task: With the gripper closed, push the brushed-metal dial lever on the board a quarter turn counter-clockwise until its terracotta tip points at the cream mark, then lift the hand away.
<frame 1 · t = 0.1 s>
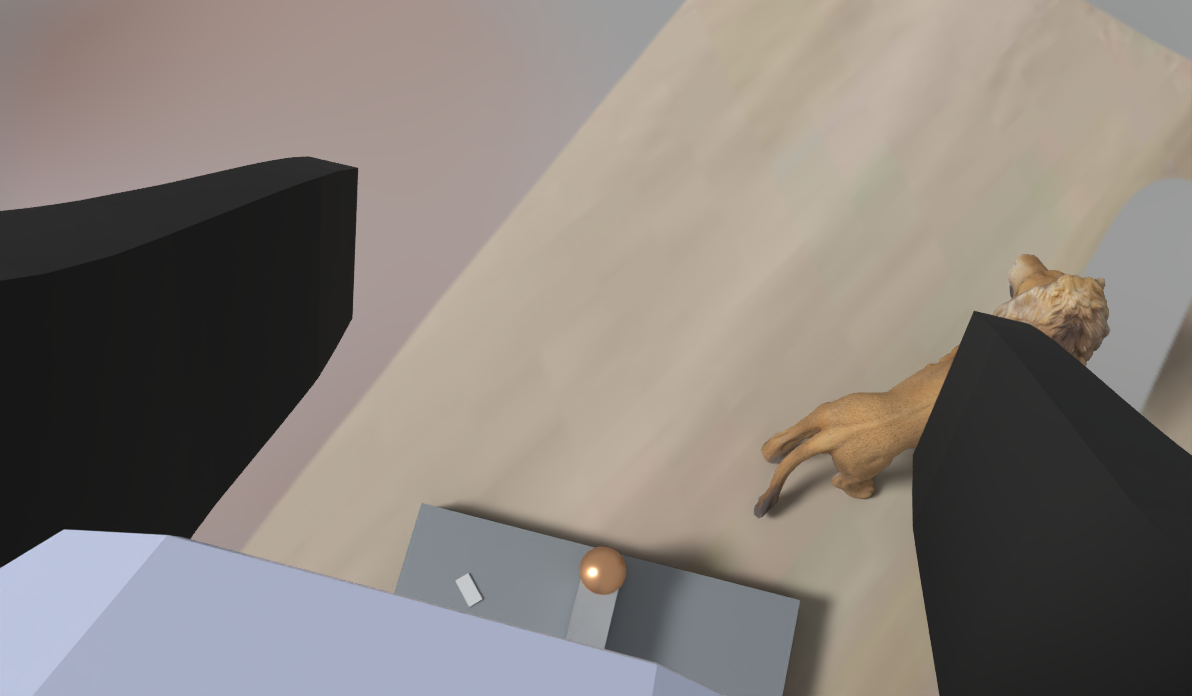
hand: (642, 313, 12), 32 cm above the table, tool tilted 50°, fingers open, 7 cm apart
dial: (572, 693, 38), point 3 cm above the table, hinge at 0.0°
lion figurine: (893, 418, 44), on the table
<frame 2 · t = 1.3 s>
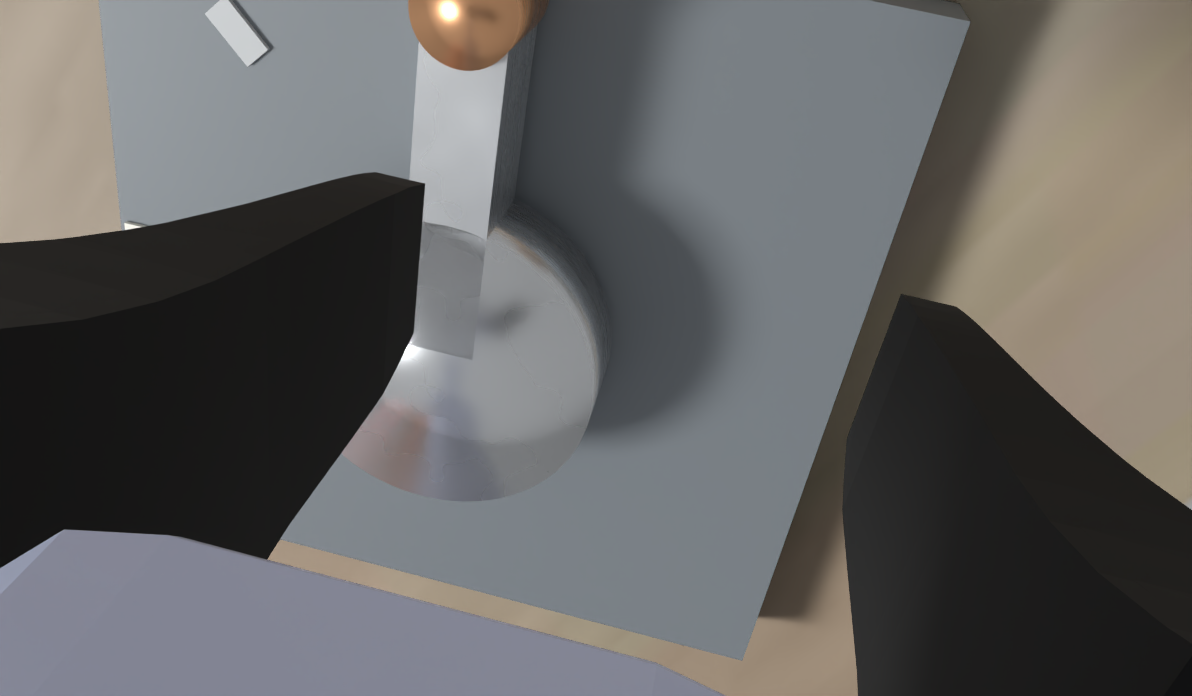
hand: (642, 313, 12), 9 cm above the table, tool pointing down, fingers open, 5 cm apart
dial: (457, 247, 19), point 3 cm above the table, hinge at 0.0°
dial board: (487, 286, 23), on the table
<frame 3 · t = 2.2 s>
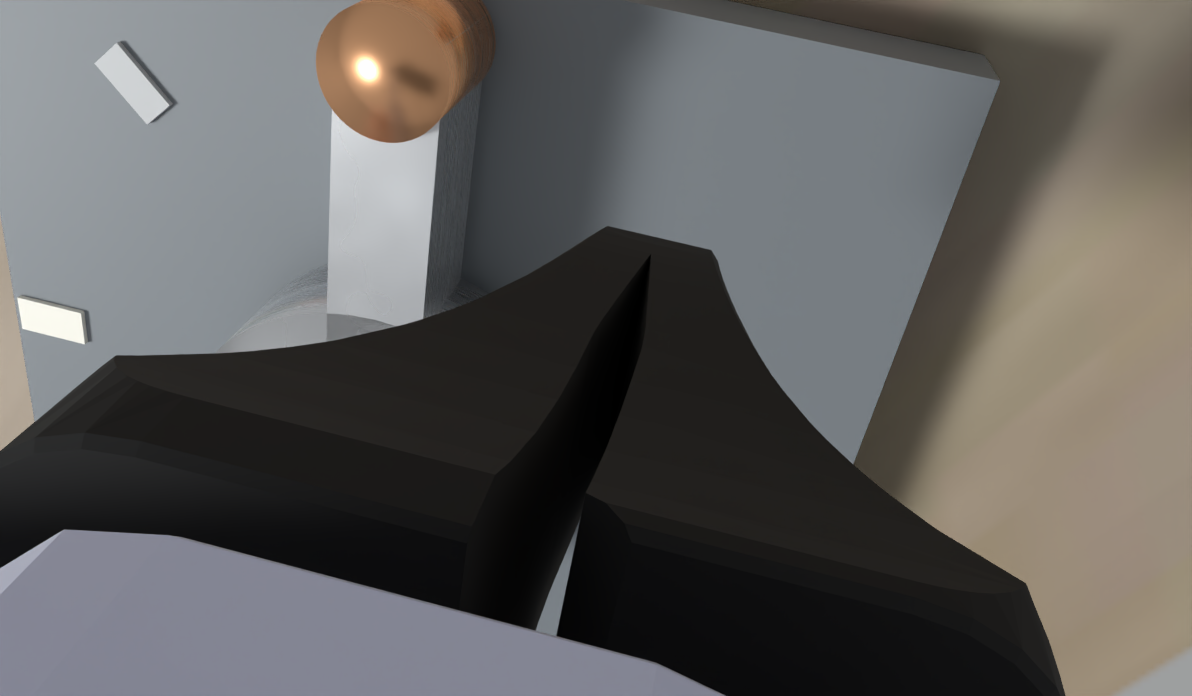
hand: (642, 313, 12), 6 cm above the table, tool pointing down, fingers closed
dial: (392, 338, 16), point 3 cm above the table, hinge at 0.0°
dial board: (437, 367, 20), on the table
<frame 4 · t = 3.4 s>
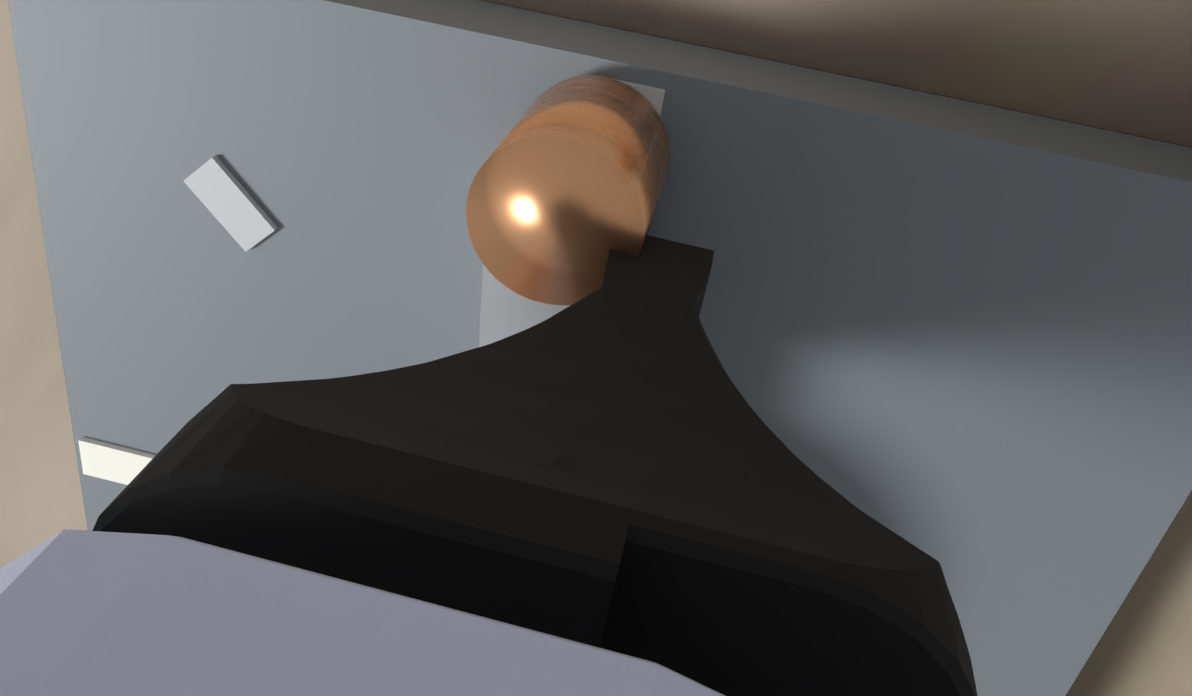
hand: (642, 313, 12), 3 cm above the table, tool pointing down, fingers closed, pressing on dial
dial: (542, 512, 13), point 3 cm above the table, hinge at 3.1°, touching gripper
dial board: (570, 509, 17), on the table
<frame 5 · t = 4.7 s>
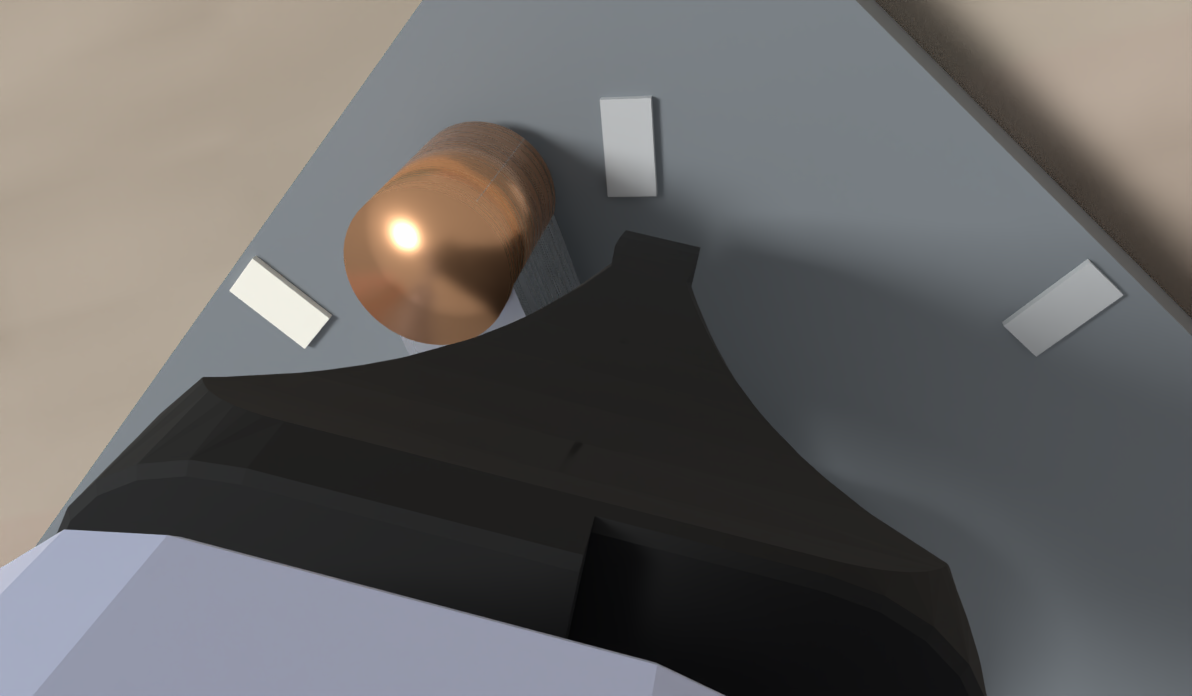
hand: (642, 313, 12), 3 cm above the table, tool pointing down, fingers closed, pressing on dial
dial: (594, 540, 13), point 3 cm above the table, hinge at 60.0°, touching gripper
dial board: (672, 532, 17), on the table
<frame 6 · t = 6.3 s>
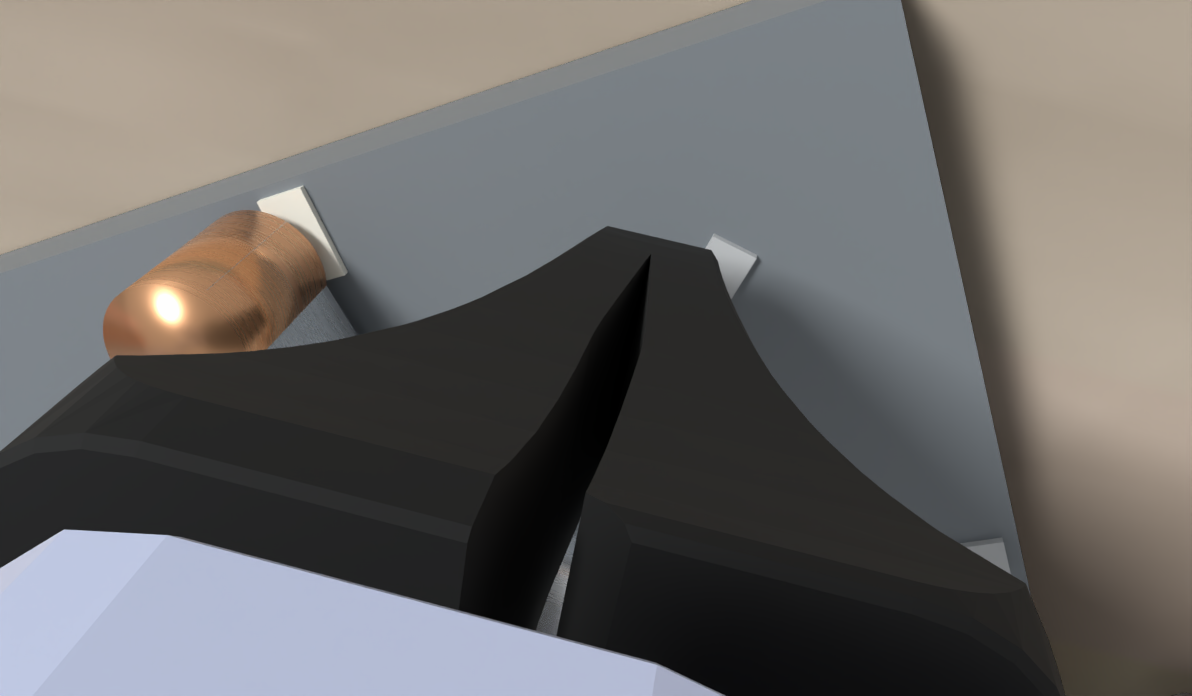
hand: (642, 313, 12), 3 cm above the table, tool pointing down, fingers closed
dial: (407, 578, 14), point 3 cm above the table, hinge at 95.3°
dial board: (529, 561, 18), on the table
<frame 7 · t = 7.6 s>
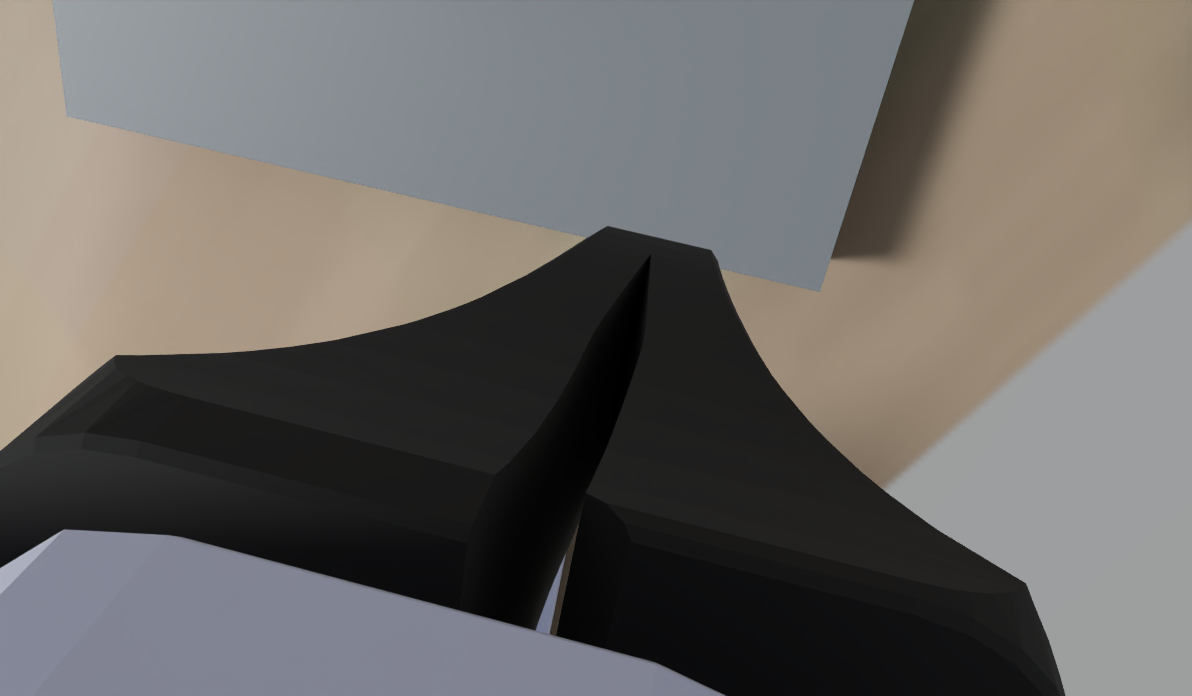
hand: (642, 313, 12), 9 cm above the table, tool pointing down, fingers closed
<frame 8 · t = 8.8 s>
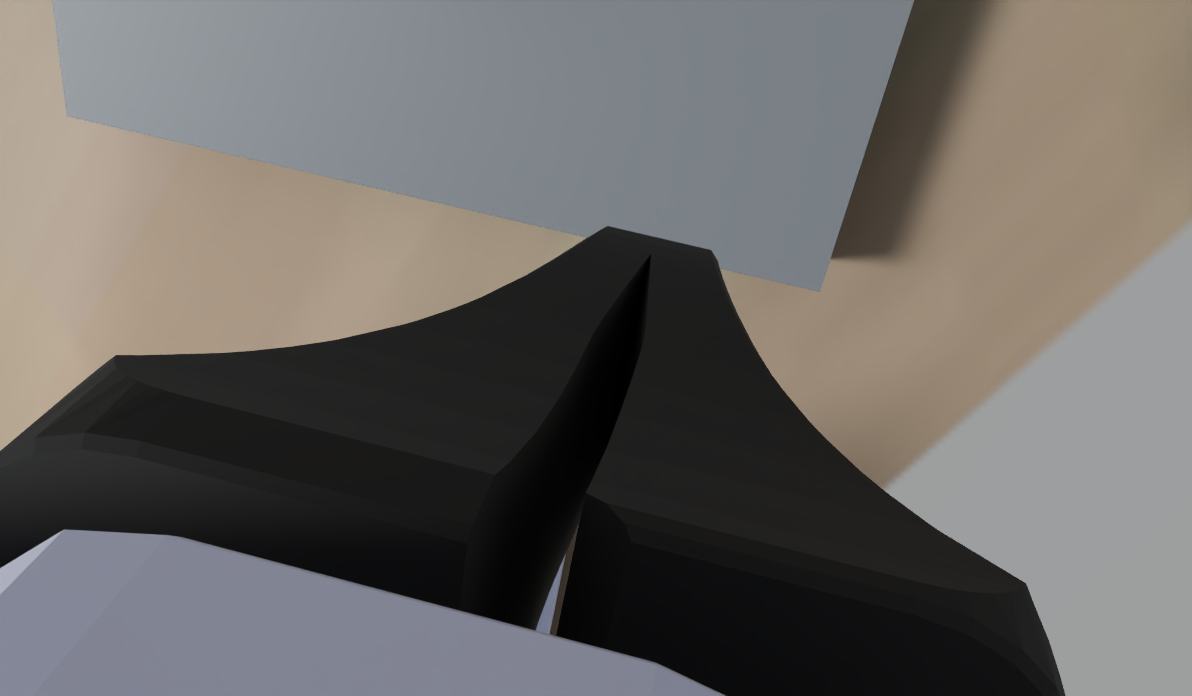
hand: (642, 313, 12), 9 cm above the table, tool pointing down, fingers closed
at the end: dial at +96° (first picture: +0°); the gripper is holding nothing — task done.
